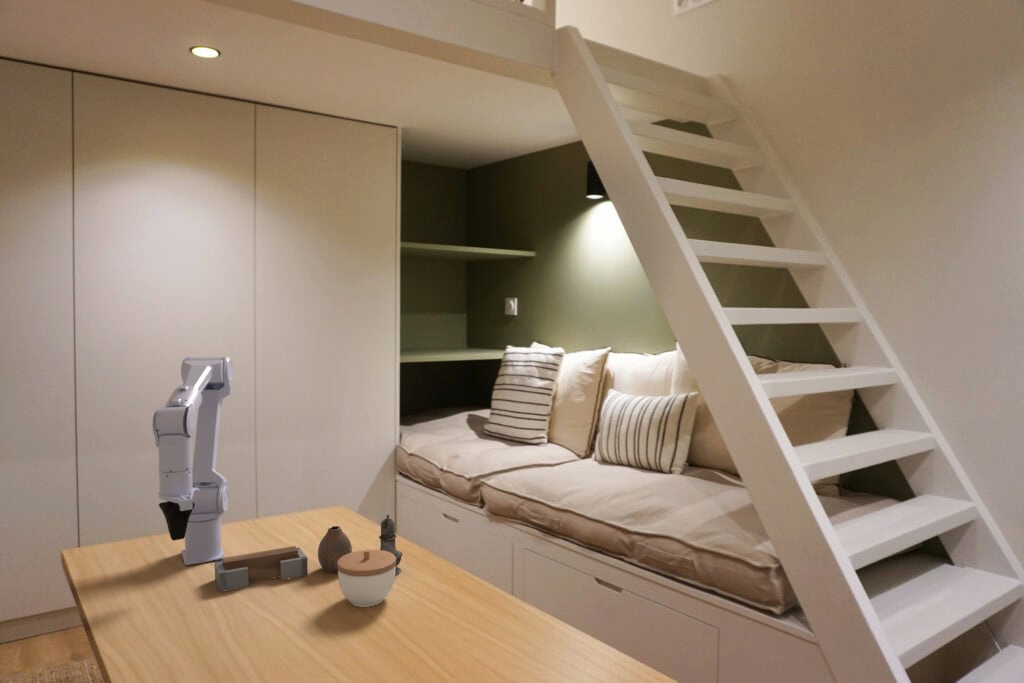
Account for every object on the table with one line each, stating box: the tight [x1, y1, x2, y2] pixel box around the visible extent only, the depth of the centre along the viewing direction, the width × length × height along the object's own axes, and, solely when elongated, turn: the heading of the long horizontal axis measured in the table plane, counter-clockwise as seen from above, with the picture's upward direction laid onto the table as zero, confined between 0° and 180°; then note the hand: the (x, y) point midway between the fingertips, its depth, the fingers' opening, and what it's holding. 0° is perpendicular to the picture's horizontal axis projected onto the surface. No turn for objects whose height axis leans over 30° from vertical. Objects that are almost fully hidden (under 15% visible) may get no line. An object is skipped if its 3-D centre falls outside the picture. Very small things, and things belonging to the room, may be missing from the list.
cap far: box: [279, 546, 309, 581], centre depth 143 cm, size 7×5×4 cm
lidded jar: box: [337, 549, 396, 608], centre depth 129 cm, size 11×11×9 cm
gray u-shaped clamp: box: [214, 560, 249, 592], centre depth 137 cm, size 7×5×4 cm
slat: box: [222, 545, 298, 583], centre depth 140 cm, size 3×14×5 cm, turn 119°
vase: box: [317, 525, 353, 574], centre depth 144 cm, size 7×7×9 cm
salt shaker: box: [378, 514, 403, 576], centre depth 143 cm, size 6×6×12 cm
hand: (177, 538), depth 134 cm, fingers closed
